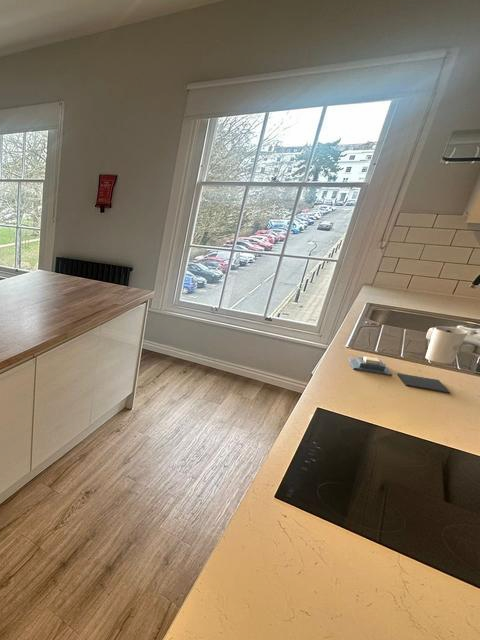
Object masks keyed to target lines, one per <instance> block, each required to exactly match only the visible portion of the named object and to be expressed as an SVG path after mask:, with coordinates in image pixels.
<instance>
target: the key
mask: <svg viewBox="0 0 480 640" xmlns="http://www.w3.org/2000/svg"><path fill="white" fill-rule="evenodd" d="M362 358H363V361H364V362H365V363H370V364H376V365H379V363H380V361H381V360H380V359H379V358H378V357H373V356H366V355H364V356H363V357H362ZM379 360H380V361H379Z"/></svg>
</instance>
